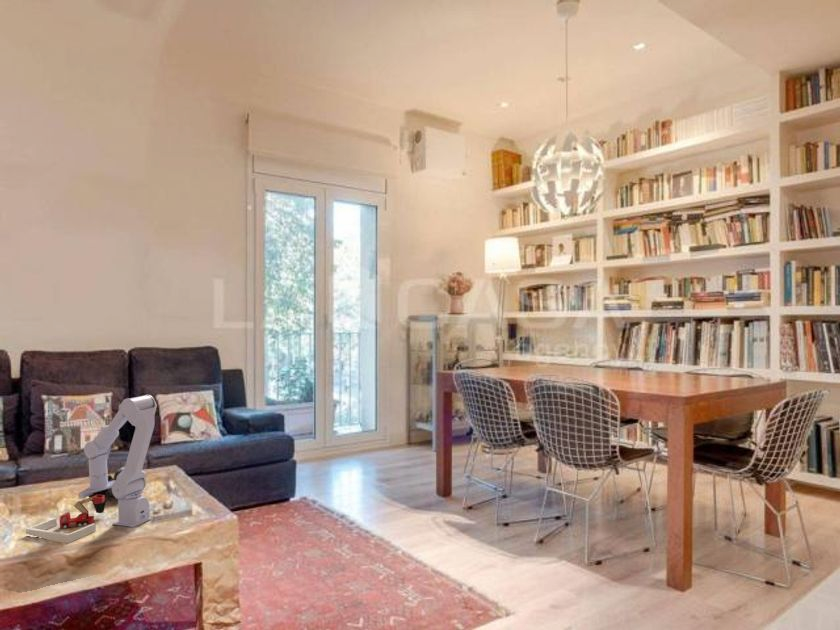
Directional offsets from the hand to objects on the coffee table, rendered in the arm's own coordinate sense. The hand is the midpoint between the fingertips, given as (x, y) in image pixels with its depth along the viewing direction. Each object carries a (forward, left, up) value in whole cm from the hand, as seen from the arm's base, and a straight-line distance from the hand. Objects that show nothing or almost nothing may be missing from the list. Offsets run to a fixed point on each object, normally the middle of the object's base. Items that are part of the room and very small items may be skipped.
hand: (100, 512), depth 207 cm
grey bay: (0, +15, -2) cm, 15 cm away
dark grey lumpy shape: (+13, -20, -2) cm, 24 cm away
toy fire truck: (0, +7, -2) cm, 7 cm away
